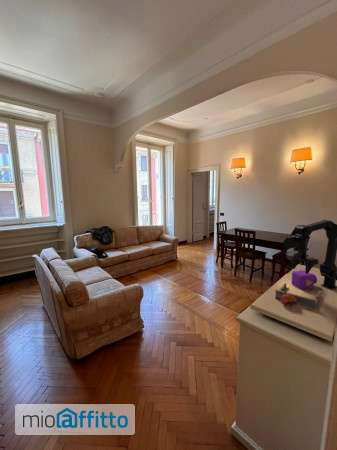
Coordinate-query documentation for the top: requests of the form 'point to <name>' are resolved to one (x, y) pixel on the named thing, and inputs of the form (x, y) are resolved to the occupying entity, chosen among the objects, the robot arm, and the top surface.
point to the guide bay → (299, 298)
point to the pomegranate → (288, 299)
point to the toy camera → (303, 279)
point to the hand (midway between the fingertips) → (300, 271)
